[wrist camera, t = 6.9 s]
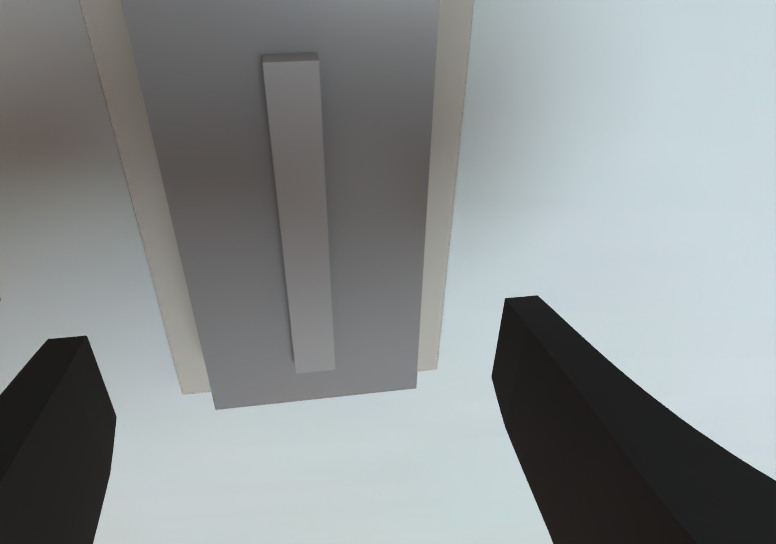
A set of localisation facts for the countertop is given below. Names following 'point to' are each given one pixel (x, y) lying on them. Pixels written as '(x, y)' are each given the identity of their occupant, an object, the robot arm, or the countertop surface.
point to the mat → (151, 201)
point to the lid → (295, 184)
